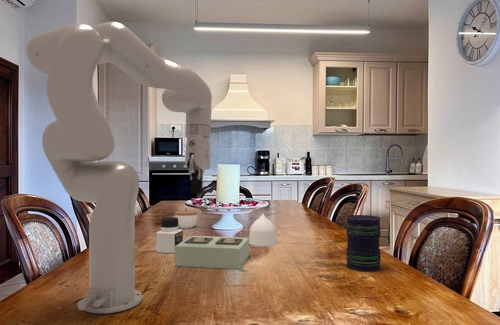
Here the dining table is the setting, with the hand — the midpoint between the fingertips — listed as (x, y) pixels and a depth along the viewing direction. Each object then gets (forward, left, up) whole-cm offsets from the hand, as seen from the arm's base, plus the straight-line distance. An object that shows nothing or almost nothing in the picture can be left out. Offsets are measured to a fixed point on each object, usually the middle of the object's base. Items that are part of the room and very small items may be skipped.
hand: (196, 193), depth 109 cm
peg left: (+8, +2, -22) cm, 24 cm away
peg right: (+8, -8, -22) cm, 25 cm away
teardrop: (+36, -15, -23) cm, 45 cm away
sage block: (+8, -3, -22) cm, 24 cm away
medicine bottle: (+18, +16, -23) cm, 33 cm away
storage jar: (+8, -49, -23) cm, 55 cm away
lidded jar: (+63, +26, -23) cm, 72 cm away
